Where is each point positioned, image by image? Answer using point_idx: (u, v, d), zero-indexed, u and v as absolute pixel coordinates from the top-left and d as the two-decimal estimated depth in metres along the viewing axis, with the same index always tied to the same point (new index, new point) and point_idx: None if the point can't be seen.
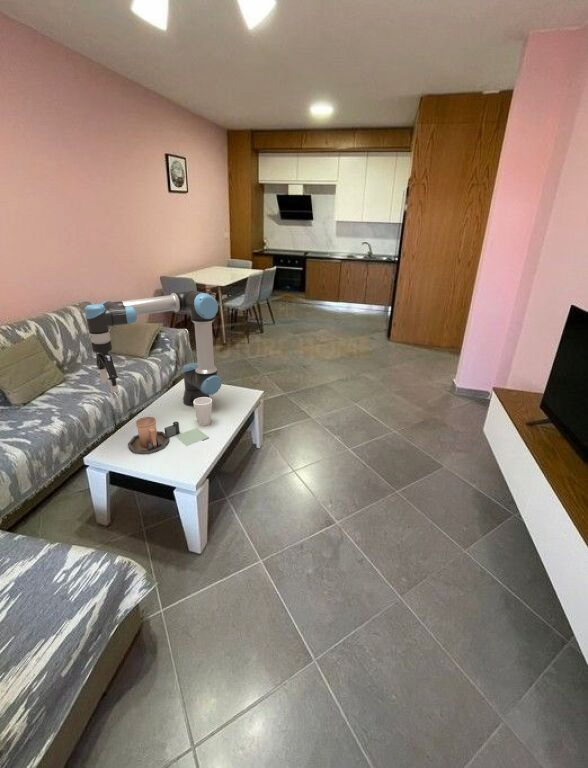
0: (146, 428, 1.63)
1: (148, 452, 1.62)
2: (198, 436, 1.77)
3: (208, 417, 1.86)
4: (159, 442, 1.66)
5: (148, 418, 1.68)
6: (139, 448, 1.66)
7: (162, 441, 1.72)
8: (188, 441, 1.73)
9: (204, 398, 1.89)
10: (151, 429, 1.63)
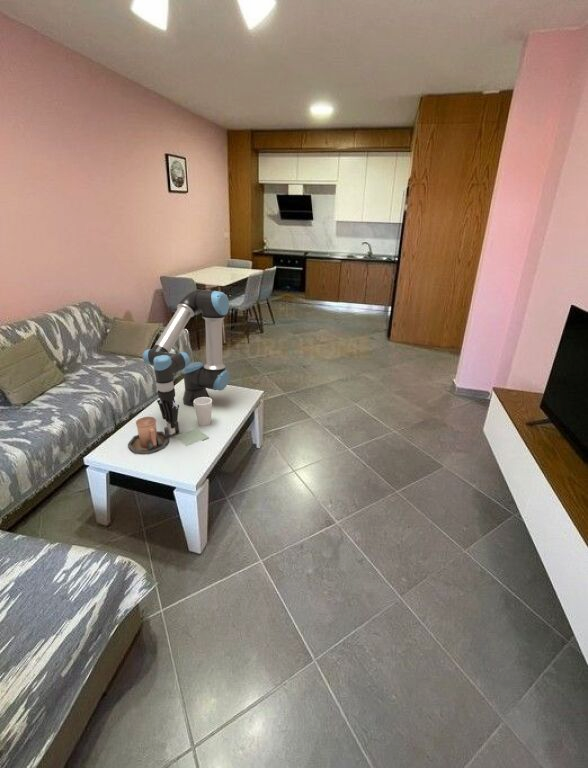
0: (146, 428, 1.63)
1: (149, 452, 1.62)
2: (198, 436, 1.77)
3: (208, 417, 1.86)
4: (159, 442, 1.66)
5: (148, 418, 1.68)
6: (139, 448, 1.66)
7: (162, 441, 1.72)
8: (188, 441, 1.73)
9: (204, 398, 1.89)
10: (151, 429, 1.63)
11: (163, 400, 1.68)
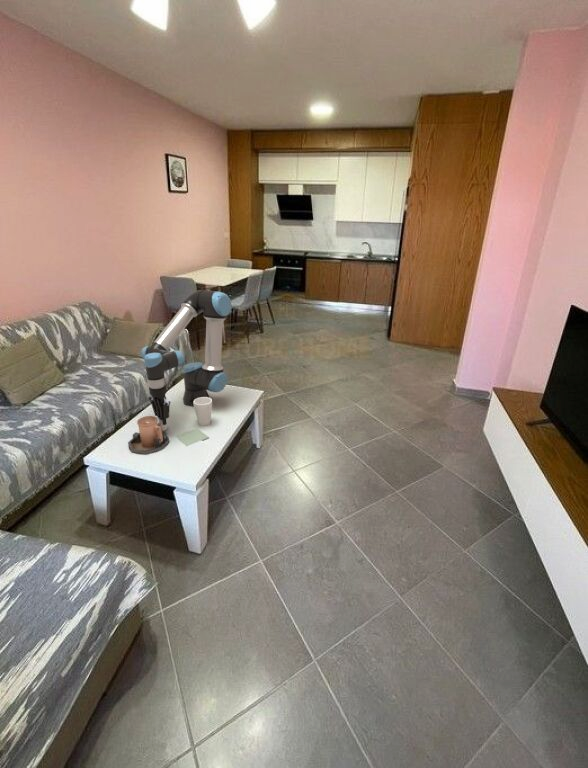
0: (151, 426, 1.64)
1: (160, 448, 1.65)
2: (198, 436, 1.77)
3: (208, 417, 1.86)
4: (165, 437, 1.70)
5: (147, 417, 1.68)
6: (139, 448, 1.66)
7: None
8: (188, 441, 1.73)
9: (204, 398, 1.89)
10: (157, 426, 1.65)
11: (155, 397, 1.71)
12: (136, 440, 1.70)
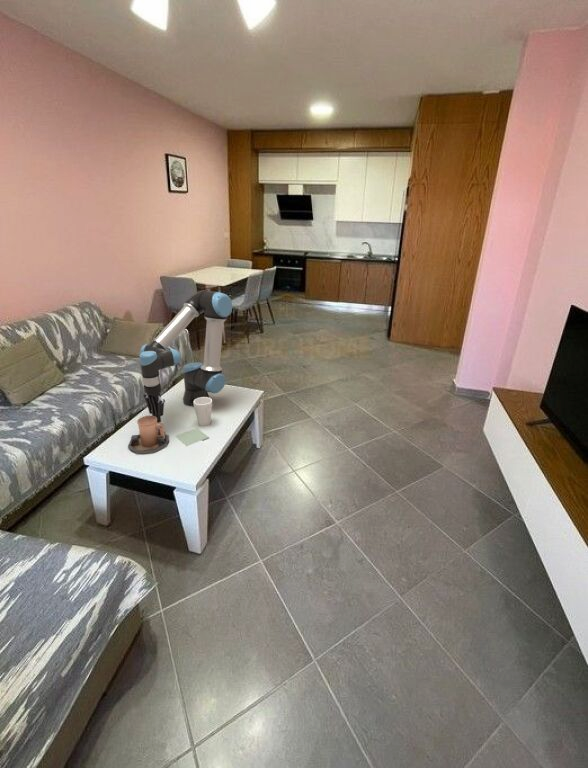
0: (154, 425, 1.66)
1: (165, 445, 1.68)
2: (198, 436, 1.77)
3: (208, 417, 1.86)
4: (165, 434, 1.72)
5: (145, 417, 1.68)
6: (139, 448, 1.66)
7: None
8: (188, 441, 1.73)
9: (204, 398, 1.89)
10: (159, 424, 1.67)
11: (149, 395, 1.72)
12: (135, 442, 1.68)
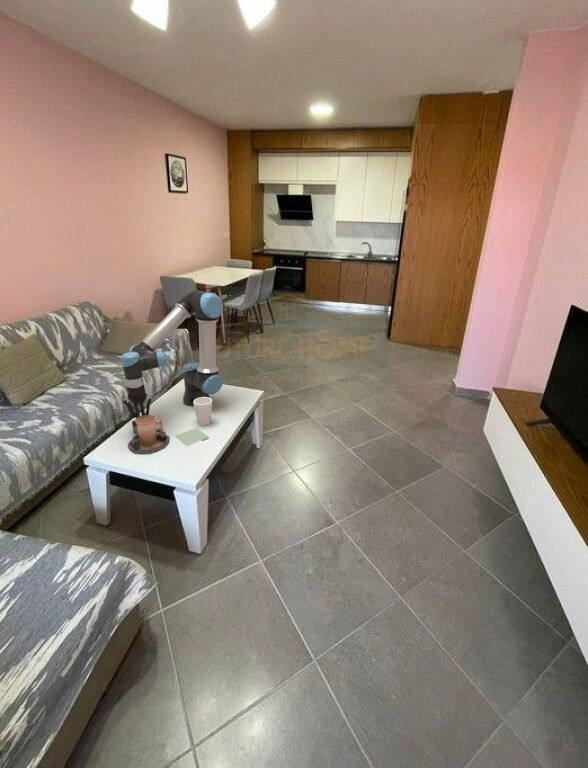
0: (154, 422, 1.68)
1: (169, 438, 1.73)
2: (198, 436, 1.77)
3: (208, 417, 1.86)
4: None
5: (141, 417, 1.68)
6: (139, 448, 1.66)
7: (162, 441, 1.72)
8: (188, 441, 1.73)
9: (204, 398, 1.89)
10: (158, 420, 1.70)
11: (133, 397, 1.70)
12: (138, 446, 1.65)
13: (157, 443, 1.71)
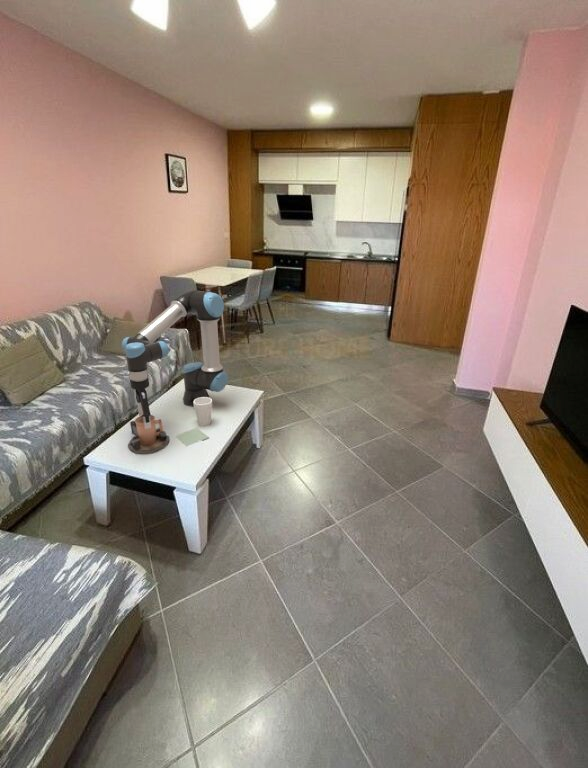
0: (154, 421, 1.68)
1: None
2: (198, 436, 1.77)
3: (208, 417, 1.86)
4: None
5: (140, 417, 1.68)
6: None
7: (162, 441, 1.72)
8: (188, 441, 1.73)
9: (204, 398, 1.89)
10: (157, 420, 1.70)
11: None
12: (138, 446, 1.65)
13: (157, 443, 1.71)
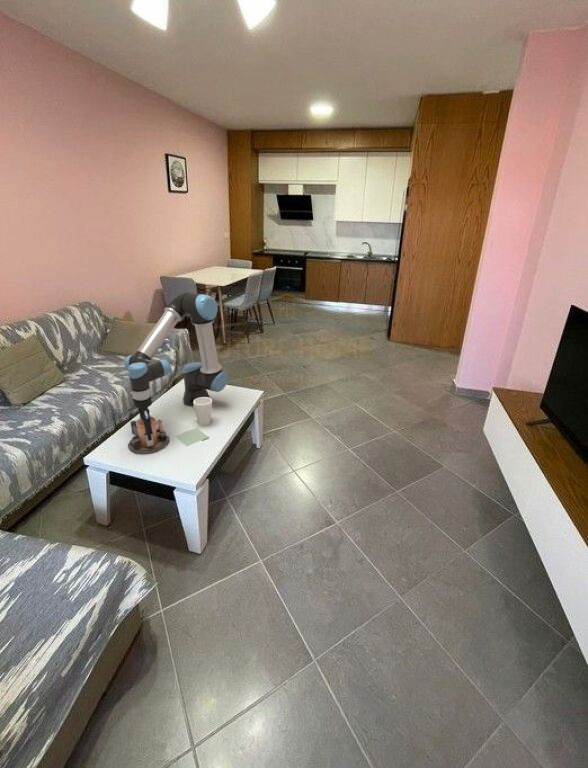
0: (155, 422, 1.68)
1: (169, 438, 1.73)
2: (198, 436, 1.77)
3: (208, 417, 1.86)
4: None
5: (140, 420, 1.66)
6: (139, 448, 1.66)
7: (162, 441, 1.72)
8: (188, 441, 1.73)
9: (204, 398, 1.89)
10: (157, 421, 1.70)
11: None
12: (138, 446, 1.65)
13: None
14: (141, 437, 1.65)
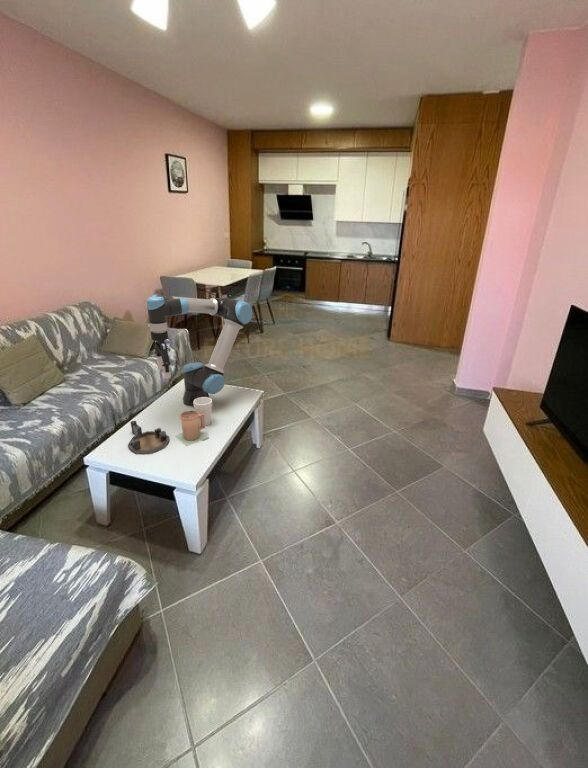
0: (198, 416, 1.74)
1: (169, 438, 1.73)
2: None
3: (208, 417, 1.86)
4: None
5: (184, 414, 1.73)
6: (139, 448, 1.66)
7: (162, 441, 1.72)
8: (188, 441, 1.73)
9: (204, 398, 1.89)
10: (199, 414, 1.76)
11: None
12: (138, 446, 1.65)
13: (157, 443, 1.71)
14: (185, 430, 1.71)
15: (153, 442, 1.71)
